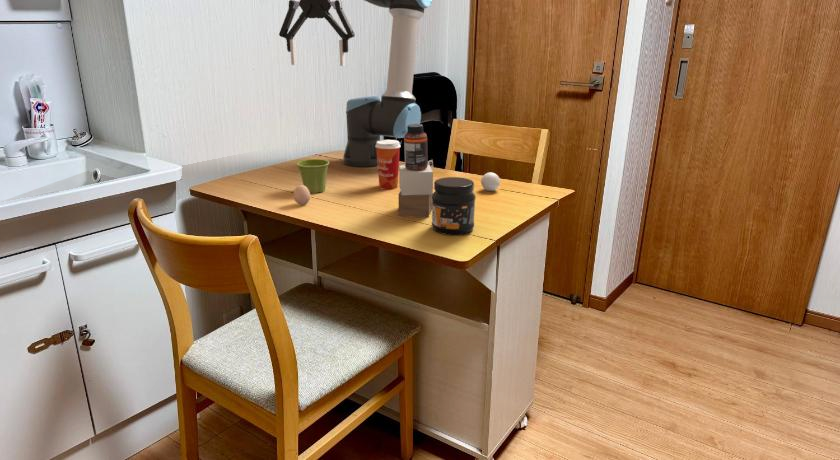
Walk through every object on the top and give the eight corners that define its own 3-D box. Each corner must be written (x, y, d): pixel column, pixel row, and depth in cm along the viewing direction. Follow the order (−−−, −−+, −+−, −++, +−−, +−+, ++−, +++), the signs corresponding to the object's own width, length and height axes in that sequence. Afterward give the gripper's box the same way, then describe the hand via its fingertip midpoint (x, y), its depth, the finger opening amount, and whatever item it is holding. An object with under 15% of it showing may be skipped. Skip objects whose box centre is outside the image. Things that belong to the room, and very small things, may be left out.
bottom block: (403, 207, 159) (403, 185, 157) (432, 208, 158) (432, 187, 156) (398, 216, 151) (398, 194, 149) (428, 217, 150) (429, 195, 148)
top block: (399, 187, 156) (399, 165, 154) (428, 186, 157) (429, 164, 155) (402, 195, 148) (401, 172, 146) (432, 194, 149) (433, 171, 147)
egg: (291, 204, 160) (290, 184, 158) (306, 201, 163) (305, 182, 161) (298, 208, 157) (297, 188, 155) (313, 205, 159) (312, 185, 158)
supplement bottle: (417, 164, 155) (416, 122, 151) (432, 168, 150) (432, 124, 146) (400, 168, 151) (399, 125, 147) (415, 172, 147) (414, 127, 143)
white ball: (481, 187, 178) (482, 169, 176) (499, 188, 177) (500, 170, 175) (479, 194, 171) (479, 176, 169) (498, 195, 170) (499, 177, 168)
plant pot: (324, 196, 168) (322, 167, 165) (293, 194, 170) (291, 165, 167) (335, 187, 176) (333, 160, 174) (306, 185, 178) (304, 158, 175)
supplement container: (423, 231, 141) (423, 183, 136) (444, 219, 149) (445, 174, 145) (461, 239, 135) (463, 190, 131) (481, 226, 144) (483, 180, 140)
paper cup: (370, 186, 178) (369, 141, 173) (388, 182, 183) (388, 138, 178) (388, 191, 173) (388, 145, 168) (406, 186, 178) (406, 141, 173)
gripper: (262, -21, 148) (269, 65, 155) (357, -21, 145) (359, 66, 152) (273, -19, 155) (279, 63, 162) (364, -19, 152) (366, 64, 159)
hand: (318, 65), depth 157 cm, fingers open, 13 cm apart
